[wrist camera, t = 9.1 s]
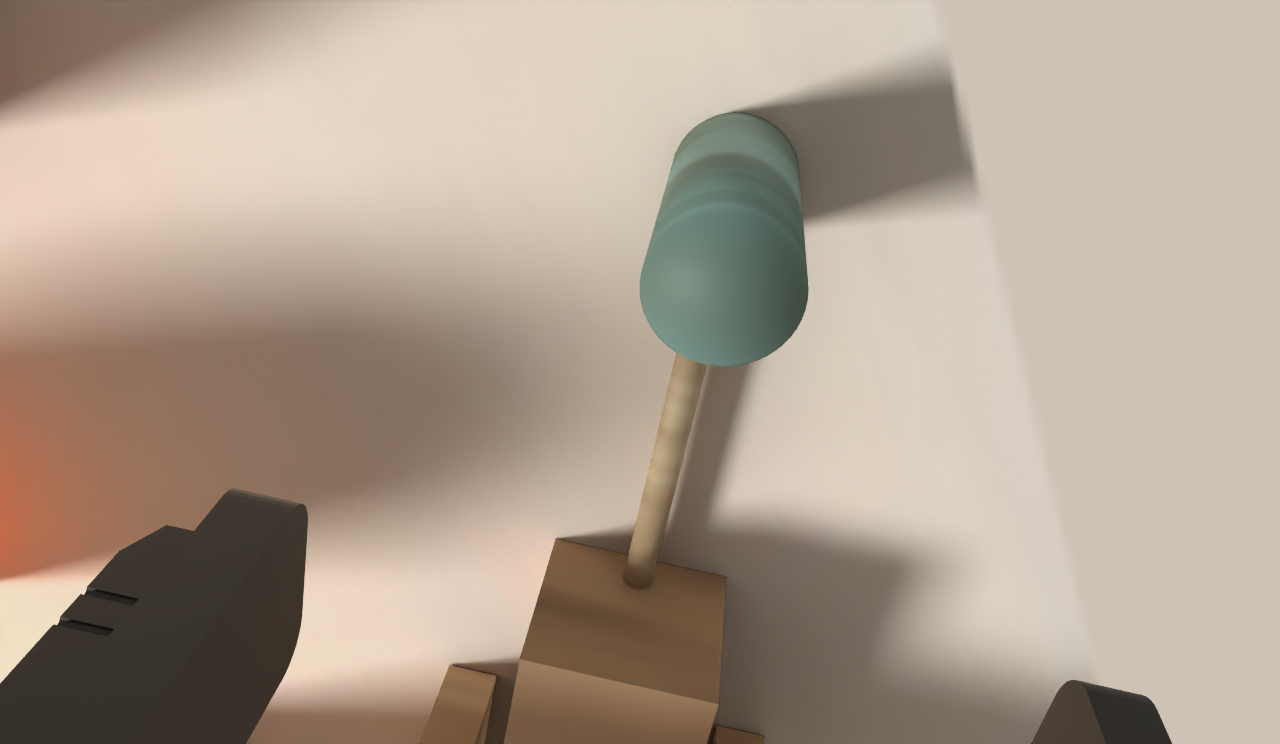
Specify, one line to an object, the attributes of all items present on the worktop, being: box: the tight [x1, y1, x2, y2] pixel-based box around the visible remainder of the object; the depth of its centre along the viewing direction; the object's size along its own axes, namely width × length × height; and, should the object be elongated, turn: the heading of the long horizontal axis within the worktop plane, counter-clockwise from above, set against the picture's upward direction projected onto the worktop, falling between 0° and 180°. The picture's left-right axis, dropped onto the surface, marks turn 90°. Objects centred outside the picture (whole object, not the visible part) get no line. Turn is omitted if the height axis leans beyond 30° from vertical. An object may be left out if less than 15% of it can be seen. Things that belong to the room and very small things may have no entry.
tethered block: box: [504, 113, 808, 744], centre depth 26 cm, size 18×5×7 cm, turn 169°
